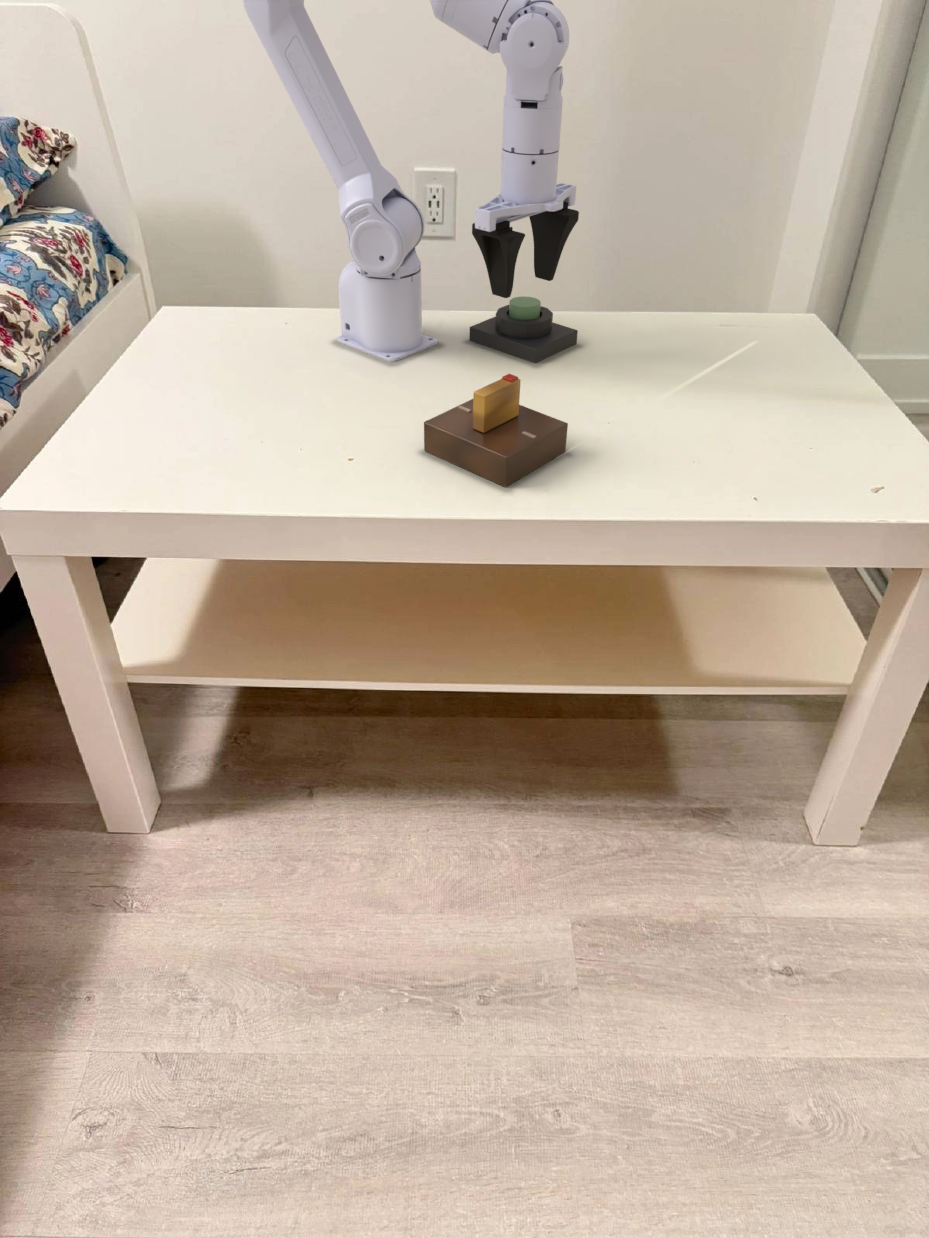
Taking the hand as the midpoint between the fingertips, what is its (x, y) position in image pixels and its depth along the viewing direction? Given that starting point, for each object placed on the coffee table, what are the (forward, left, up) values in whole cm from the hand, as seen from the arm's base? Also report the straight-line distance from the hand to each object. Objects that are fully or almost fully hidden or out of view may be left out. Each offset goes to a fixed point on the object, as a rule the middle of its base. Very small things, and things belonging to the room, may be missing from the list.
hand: (523, 287), depth 96 cm
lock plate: (+13, -20, -8) cm, 25 cm away
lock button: (-2, +3, -5) cm, 6 cm away
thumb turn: (+13, -20, -5) cm, 24 cm away
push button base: (-2, +3, -8) cm, 9 cm away
